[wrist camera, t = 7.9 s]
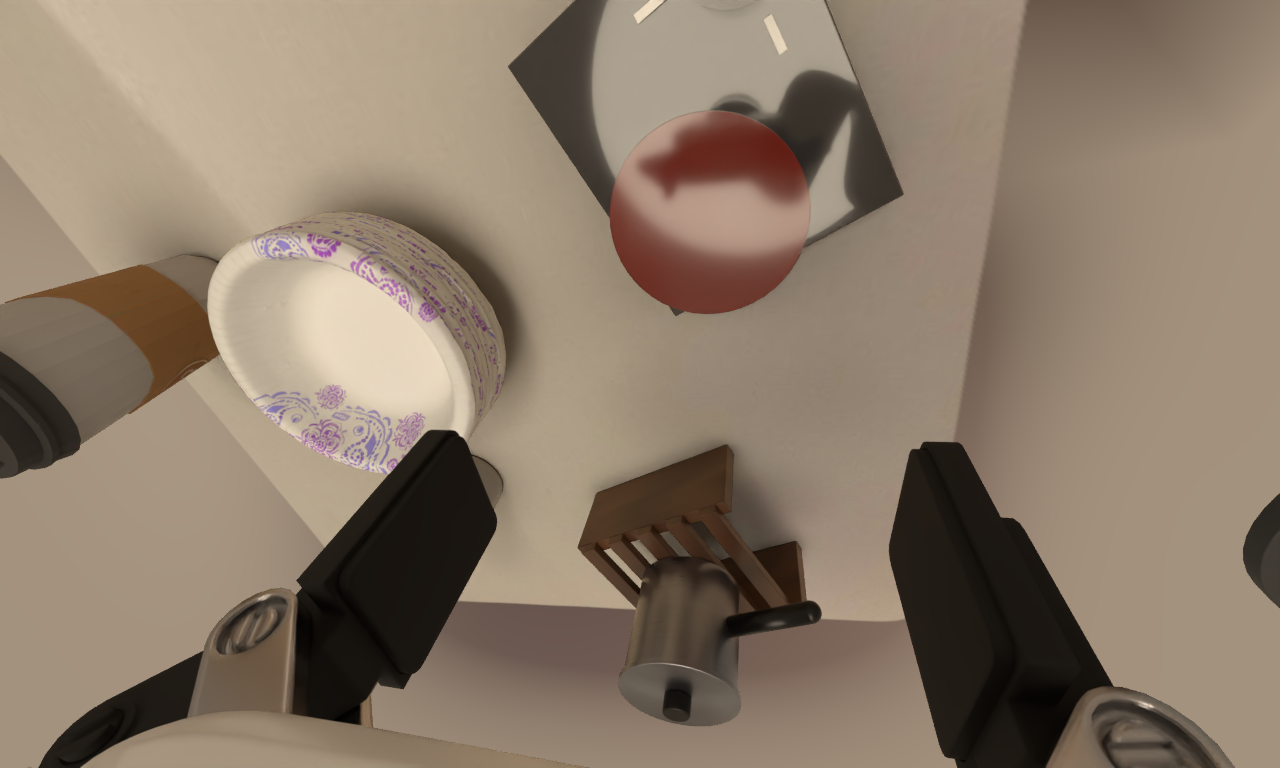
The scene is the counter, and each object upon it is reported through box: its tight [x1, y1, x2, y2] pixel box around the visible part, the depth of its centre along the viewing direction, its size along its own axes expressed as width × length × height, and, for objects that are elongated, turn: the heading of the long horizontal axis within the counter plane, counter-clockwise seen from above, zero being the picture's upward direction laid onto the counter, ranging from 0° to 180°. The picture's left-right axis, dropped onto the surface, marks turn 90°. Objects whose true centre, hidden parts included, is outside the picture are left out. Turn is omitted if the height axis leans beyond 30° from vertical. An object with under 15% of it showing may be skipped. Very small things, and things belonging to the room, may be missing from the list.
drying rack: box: [578, 445, 807, 614], centre depth 37 cm, size 12×12×6 cm
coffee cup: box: [0, 255, 220, 478], centre depth 29 cm, size 8×8×15 cm
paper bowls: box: [207, 212, 506, 474], centre depth 30 cm, size 15×15×8 cm
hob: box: [508, 0, 904, 316], centre depth 22 cm, size 14×16×3 cm
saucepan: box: [618, 556, 822, 726], centre depth 30 cm, size 7×13×8 cm, turn 125°
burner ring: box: [610, 111, 811, 314], centre depth 24 cm, size 10×10×1 cm
